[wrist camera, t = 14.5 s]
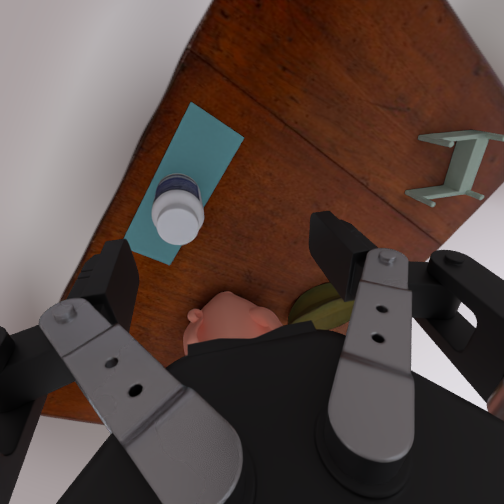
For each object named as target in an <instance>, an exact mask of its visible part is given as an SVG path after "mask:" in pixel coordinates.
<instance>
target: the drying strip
mask: <svg viewBox="0 0 504 504" xmlns="http://www.w3.org/2000/svg"><path fill="white" fill-rule="evenodd" d="M243 139H244V137H243V136H241V135H240V134H238V133H237V132H235V131H234V130H232V129H231V128H229V127H228V126H226V125H225V124H223V123H222V122H220V121H219V120H217V119H216V118H214V117H213V116H211V115H210V114H209V113H207V112H206V111H204V110H203V109H201V108H200V107H198V106H197V105H195V104H194V103H192V102H190V104H189V106H188V108H187V111H186V113H185V115H184V117H183V119H182V121H181V123H180V125H179V127H178V129H177V131H176V133H175V135H174V137H173V139H172V141H171V143H170V145H169V147H168V149H167V151H166V153H165V155H164V157H163V159H162V161H161V163H160V165H159V167H158V170H157V172H156V174H155V176H154V178H153V180H152V182H151V184H150V186H149V188H148V190H147V192H146V194H145V196H144V198H143V200H142V202H141V204H140V206H139V208H138V210H137V212H136V214H135V216H134V218H133V220H132V222H131V224H130V226H129V228H128V231H127V233H126V235H125V237H124V239H127V241H128V243H129V245H130V248H131V250H132V251H134V252H137V253H139V254H142V255H145V256H147V257H150V258H152V259H155V260H158V261H160V262H163V263H165V264H168V265H170V264H171V263H172V261H173V259H174V258H175V256H176V254H177V252H178V251H179V249H180V247H181V245H173V244H170V243H167V242H166V241H164V240H163V239H162V238H161V237H160V235H159V234H158V231H157V228H156V226H155V225H154V223H153V220H152V206H153V201H154V197H155V193H156V189H157V186H158V184H159V182H160V181H161V180H162V179H163V178H164V177H166V176H167V175H170V174H174V173H180V174H185V175H187V176H189V177H191V178H192V179H193V180H194V181H195V182H196V183H197V185H198V187H199V189H200V193H201V198H202V204H203V208H204V206H205V204H206V203H207V201H208V199H209V197H210V196H211V194H212V192H213V191H214V189H215V187H216V185H217V184H218V182H219V180H220V179H221V177H222V175H223V173H224V172H225V170H226V168H227V167H228V165H229V163H230V161H231V160H232V158H233V156H234V154H235V153H236V151H237V149H238V148H239V146H240V144H241V142H242V141H243Z"/></svg>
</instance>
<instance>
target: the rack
mask: <svg viewBox="0 0 504 504" xmlns="http://www.w3.org/2000/svg"><path fill="white" fill-rule="evenodd" d="M489 139H493V140H498V141H504V135H500V134H494V133H489V132H483V131H477V130H464V131H454V132H445V133H435V134H425V135H419V137H418V140H421V141H426V142H430V143H435V144H438V145H442V146H446V147H452V146H453V145H454V142H453V141H457V142H456V146H455V149H454V152H453V155H452V159H451V162H450V165H449V169H448V172H447V175H446V178H445V182H444V185H442V186H434V187H427V188H420V189H412V190H406V191H405V194H406V195H408V196H410V197H412V198H414V199H416V200H418V201H420V202H422V203H425V204H427V205H429V206H431V207H434V206H435V204H436V203H435V202H433V201H431V200H429V199H434V198H441V197H448V196H455V195H462V194H466V195H469V196H471V197H474V198H476V199H479V200H482V199H483V198H484V195H481V194H479V193H476V192H473V191H471V187H472V185H473V182H474V179H475V176H476V174H477V171H478V168H479V165H480V163H481V160H482V157H483V154H484V151H485V149H486V146H487V143H488V140H489Z"/></svg>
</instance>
